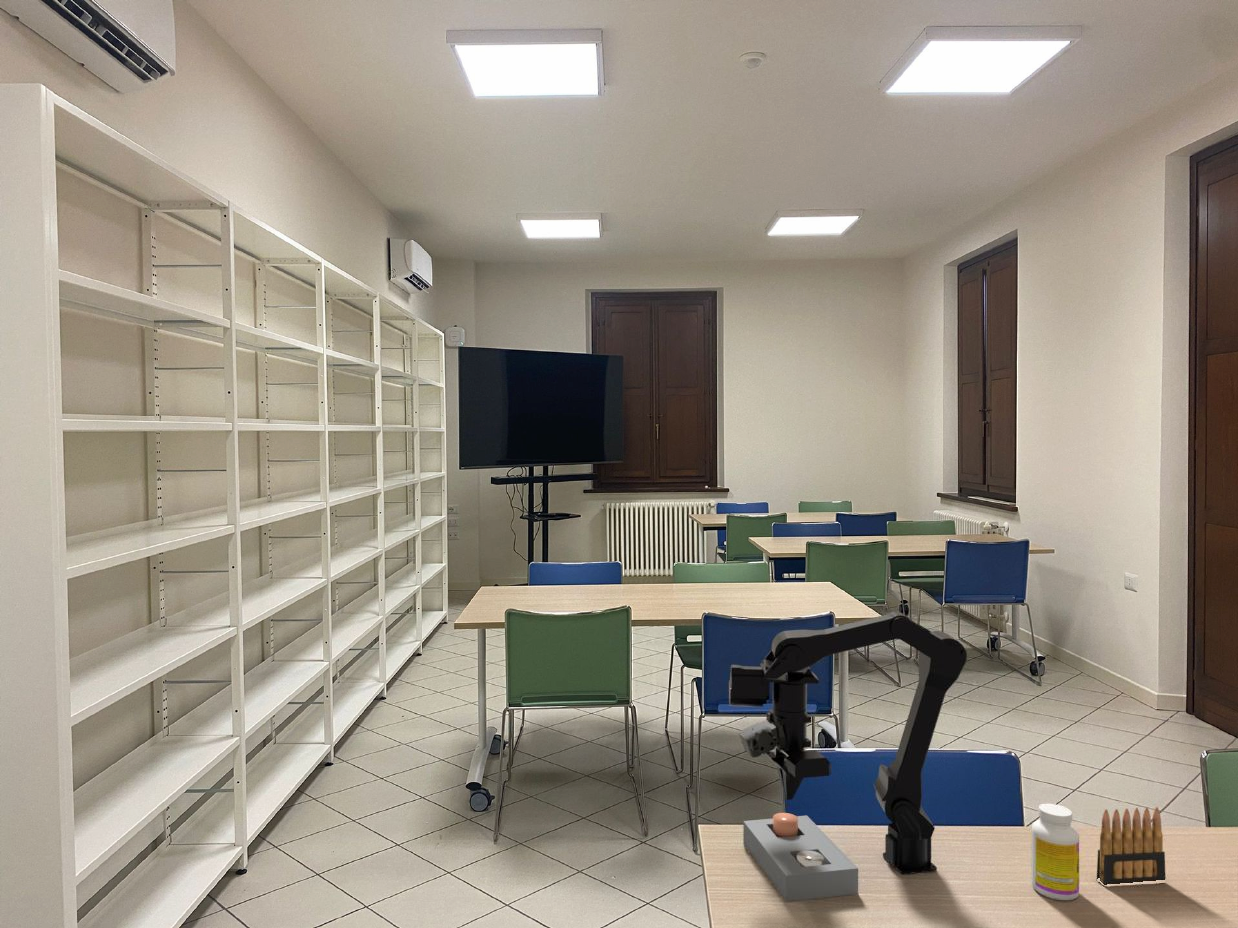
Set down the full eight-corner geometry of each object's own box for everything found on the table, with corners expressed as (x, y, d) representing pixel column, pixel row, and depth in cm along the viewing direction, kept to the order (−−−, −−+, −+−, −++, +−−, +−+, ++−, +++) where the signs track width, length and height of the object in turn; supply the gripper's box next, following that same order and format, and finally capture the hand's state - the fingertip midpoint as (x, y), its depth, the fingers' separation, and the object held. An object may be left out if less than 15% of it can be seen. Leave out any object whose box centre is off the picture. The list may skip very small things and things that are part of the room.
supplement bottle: (1085, 904, 123) (1086, 820, 122) (1038, 899, 124) (1039, 816, 124) (1070, 882, 129) (1070, 802, 129) (1025, 877, 130) (1026, 798, 130)
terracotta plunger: (791, 828, 141) (792, 811, 141) (801, 839, 137) (801, 822, 137) (769, 830, 140) (769, 813, 140) (778, 841, 136) (778, 824, 136)
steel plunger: (816, 867, 131) (816, 849, 131) (828, 880, 127) (828, 861, 127) (792, 869, 130) (792, 851, 130) (803, 883, 126) (803, 864, 126)
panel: (806, 837, 144) (806, 815, 144) (858, 893, 125) (858, 868, 125) (743, 843, 142) (743, 820, 142) (786, 901, 123) (786, 875, 123)
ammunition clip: (1157, 877, 131) (1157, 804, 131) (1166, 883, 129) (1166, 809, 129) (1096, 880, 130) (1096, 806, 129) (1104, 887, 128) (1104, 811, 128)
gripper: (725, 694, 144) (724, 781, 144) (767, 728, 126) (766, 827, 126) (783, 690, 146) (782, 776, 146) (832, 723, 128) (831, 821, 128)
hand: (788, 798), depth 137 cm, fingers closed
